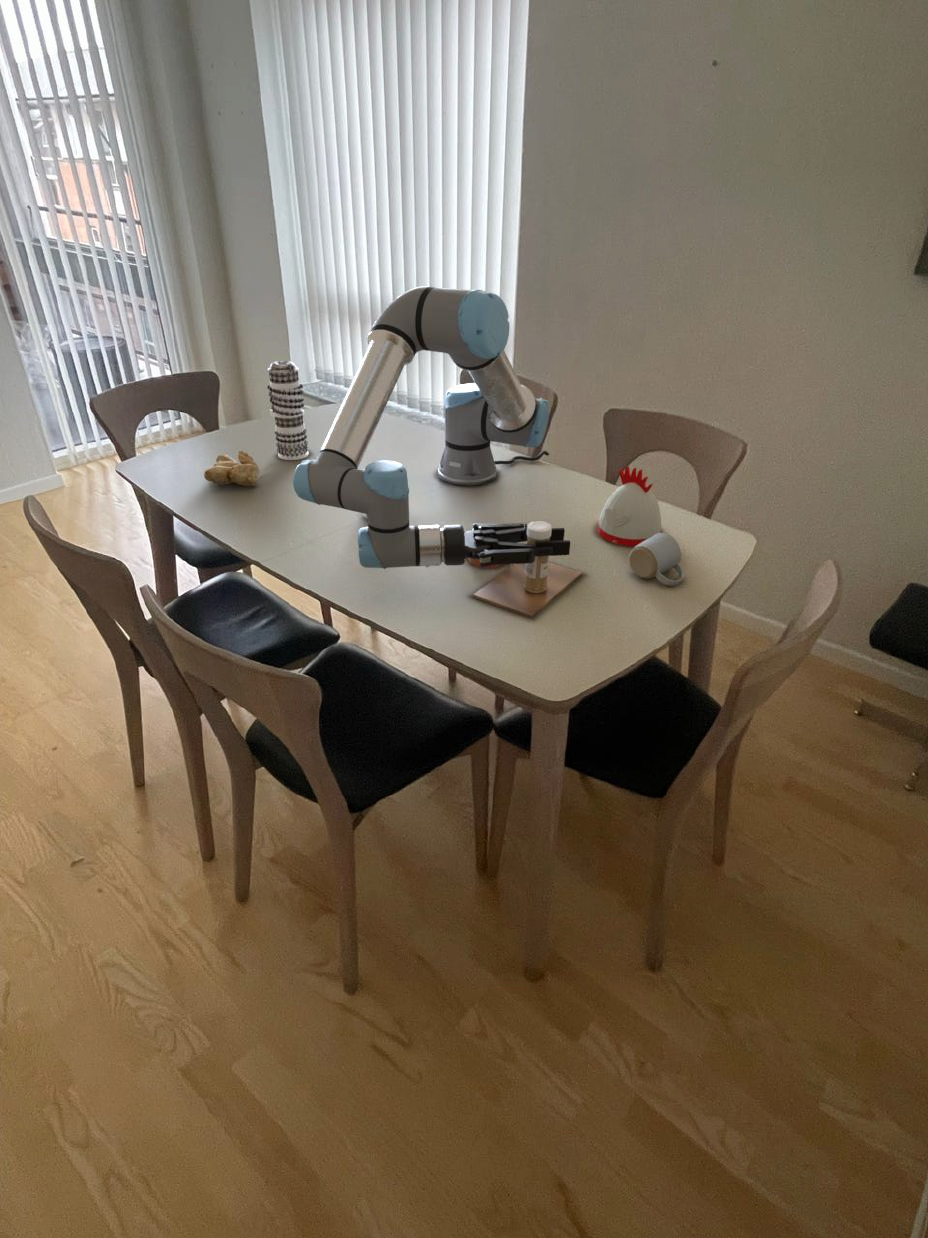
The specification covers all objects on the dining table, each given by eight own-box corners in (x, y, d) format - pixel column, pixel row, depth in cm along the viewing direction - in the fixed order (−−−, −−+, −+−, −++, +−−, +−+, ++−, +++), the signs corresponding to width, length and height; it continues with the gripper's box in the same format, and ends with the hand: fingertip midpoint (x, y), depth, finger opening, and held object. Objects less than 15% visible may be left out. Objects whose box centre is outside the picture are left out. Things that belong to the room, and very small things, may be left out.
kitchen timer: (621, 514, 175) (629, 452, 167) (672, 532, 167) (683, 469, 159) (585, 531, 167) (591, 468, 159) (636, 552, 158) (646, 486, 150)
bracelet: (481, 545, 161) (481, 528, 159) (515, 556, 157) (516, 539, 154) (459, 560, 155) (459, 543, 153) (494, 571, 151) (494, 554, 149)
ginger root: (246, 493, 180) (235, 461, 177) (195, 499, 186) (184, 468, 183) (280, 473, 193) (271, 443, 189) (232, 479, 199) (221, 450, 195)
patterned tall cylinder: (306, 460, 203) (296, 367, 190) (273, 460, 203) (260, 366, 190) (313, 449, 211) (303, 358, 197) (280, 448, 211) (269, 358, 197)
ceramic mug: (623, 572, 151) (628, 538, 147) (648, 559, 155) (654, 526, 151) (666, 593, 144) (673, 558, 140) (691, 579, 149) (698, 545, 145)
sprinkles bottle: (550, 592, 143) (555, 529, 135) (527, 595, 142) (531, 531, 134) (542, 581, 146) (547, 519, 139) (520, 583, 145) (524, 521, 138)
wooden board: (526, 557, 156) (526, 555, 156) (581, 575, 150) (582, 572, 150) (473, 597, 142) (473, 594, 142) (531, 618, 136) (531, 615, 136)
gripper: (439, 542, 147) (555, 538, 148) (446, 586, 132) (574, 581, 134) (439, 507, 143) (558, 503, 144) (445, 549, 128) (578, 544, 130)
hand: (566, 541), depth 139 cm, fingers closed on sprinkles bottle, 4 cm apart
